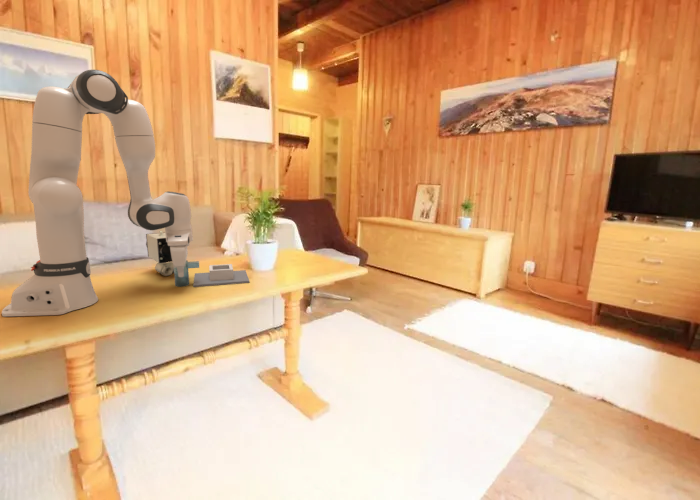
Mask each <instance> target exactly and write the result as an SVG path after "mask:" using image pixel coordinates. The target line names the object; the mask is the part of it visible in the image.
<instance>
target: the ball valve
mask: <svg viewBox="0 0 700 500" xmlns="http://www.w3.org/2000/svg"><path fill="white" fill-rule="evenodd" d="M145 235H146V236H145V237H146V243H145V246H146V248H147V257H148V258H150V259H151V260H152V261H156V264H155V265H154V266H155V267H154V270H155V271H156V272H157V273H159V274H161V275H162V276H164V277H168V276H170V275H172V274H174V266H173V263H172V257H171V252H170V246H168V243H167V242H166V234H165V231H163V230H160V231H159V232H154V233H146V234H145Z"/></svg>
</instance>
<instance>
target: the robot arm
mask: <svg viewBox="0 0 700 500" xmlns="http://www.w3.org/2000/svg"><path fill="white" fill-rule="evenodd" d="M147 111H148V110H147V109H146V107H145V106H144V105H143V104H142V103H141V102H139V101H137V100H133V99H129V97H128V95H127V94H126V93H125V91H124V90H123V88H122V87H121V86H120V84H119V83H118V82H117V80H116V79H115V77H113V76H112V75H110V73H107V72H105V71H103V70H100V69H87V70H84V71H82V72H81V73H80V74H78V75H77V76H75V77H74V78H73V80H72V81H71V83H70V84H69V86H68V87H65V88H63V87H59V86H51V85H49V86H43V87H41V88H40V89H39V90H38V92H37V94H36V96H35V101H34V104H33V111H32V123H31V124H32V125H31V152H30V153H31V155H30V165H29V174H28V175H29V176H28V178H29V179H28V191H27V192H28V197H29V200H30V202H31V203H32V205H33V212H34V219H35V220H34V221H35V231H36V240H37V241H36V242H37V247H38V254H39V260H37V261H36V262H35V263H34V264H33V265H32V266H31V267H30V268H31V270H30V271H31V272H33V273H34V274H33V275H31V277H30V278H28V279H27V280H25V281H24V282H23V283H21V284H19V286H17V287H16V288H15V289H14V290H13V292H12V294H11V300H10V303H9V304H8V305H6V306H5V307H4V308H3V309H2V310H1V315H2V317H31V316H37V317H38V316H60V315H65V314H67V313H70V312H72V311H75V310H79V309H83V308H86V307H87V308H88V307H90V306H92V305H94V304H96V303H97V302H98V301H99V297H98V295H97V294H96V292H95V289H94V286H93V283H92V279H91V270H92V269H91V264H90V260H89V257H87V255H88V254H87V249H86V248H87V247H86V241H85V239H86V238H85V222H84V221H85V220H84V219H85V214H84V212H85V211H84V198H83V197H84V196H83V192H82V190H81V189H80V188H79V185H77V183H78V175H79V171H80V166H81V165H80V164H81V160H82V141H83V121H84V117H85V115H97V114H99V115H100V114H103V115H104V116H105V117H107V118H108V120H109V121H110V124H111V126H112V129H113V134H114V135H113V136H114V140H115V144H116V147H117V150H118V154H119V156H120V158H121V161H122V164H123V167H124V170H125V172H126V178H127V184H128V190H129V196H130V200H129V204H128V207H127V217H128V219H129V221H130V222H131V223H132V224H133V225H134V226H136V227H138V228H139V227H140V228H142V229H144V230H146V231H156V230H161V229H164V230H165V231H164V232H165V234H166V242H167V243H168V246H170V252H171V257H172V263H173V266H174V267H175V268H177V271H178V276H179V277H183V276H184V267H185V263H186V260H187V259H188V258H187V257H188V247H190V243H192V242H193V241H194V238H193V237H194V235H193V226H192V224H191V221H192V220H191V219H192V212H191V211H192V210H191V204H190V203H191V202H190V199H189V197H188V196H187V195H186V194H184V193H181V192H176V191H164V193H162V194H161V195H160V196H158V197H156V198H152V195H151V189H150V181H149V171H150V170H149V169H150V168H151V167H150V166H151V165H152V163H153V161H154V160H155V158H156V140H155V135H154V131H153V127H152V122H151V119H150V117H149V114H148V112H147Z"/></svg>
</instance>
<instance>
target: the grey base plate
mask: <svg viewBox="0 0 700 500" xmlns="http://www.w3.org/2000/svg"><path fill="white" fill-rule="evenodd" d="M208 267H209V268H208V269H209V270H208V271H209V272H198V273H197V272H196V273H194V277H193V285H192V286H193V288H196V287H197V288H199V287H200V288H201V287H210V286H211V287H212V286H213V287H214V286H226V285H236V284H237V285H239V284H250V278H249V276H248V274H247V271H246V269H242V270H234V267H233V264H232V263H227V264H226V263H225V264H209V266H208Z"/></svg>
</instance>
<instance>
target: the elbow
mask: <svg viewBox="0 0 700 500" xmlns="http://www.w3.org/2000/svg"><path fill="white" fill-rule="evenodd" d="M199 268H200V260H196V261H195V260H194V261H189V260H187V259H186V263H185V267H184V276H183V277H179V276H178V271H177V268H175V267H174V273H173V274H174V286H175V287H178V288H182V287H187V286H189V285H190V274H189V269H199Z"/></svg>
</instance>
